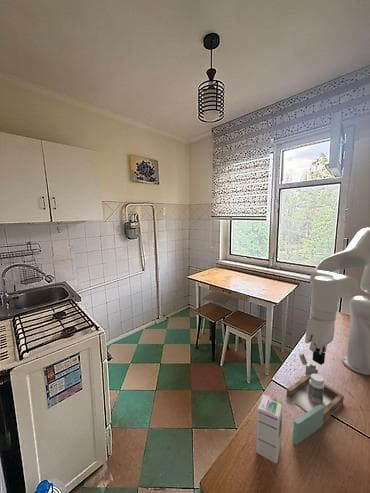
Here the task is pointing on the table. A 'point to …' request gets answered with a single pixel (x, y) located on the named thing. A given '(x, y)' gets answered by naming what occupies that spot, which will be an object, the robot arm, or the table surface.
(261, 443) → the syrup box
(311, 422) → the gate
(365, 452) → the table surface
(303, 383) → the bay
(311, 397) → the pill bottle
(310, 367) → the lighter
